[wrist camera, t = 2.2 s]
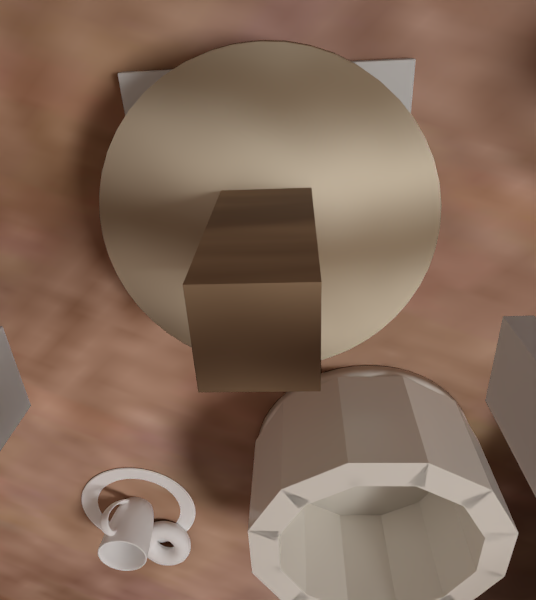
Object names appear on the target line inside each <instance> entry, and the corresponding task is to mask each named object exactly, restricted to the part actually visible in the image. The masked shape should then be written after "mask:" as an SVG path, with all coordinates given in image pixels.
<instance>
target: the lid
mask: <svg viewBox="0 0 536 600" xmlns="http://www.w3.org/2000/svg"><path fill="white" fill-rule="evenodd" d="M99 212H100V221H101V228H102V234H103V238H104V242H105V245H106V249H107V252H108V255H109V258H110V260H111V262H112V265H113V267H114V269H115V271H116V274H117V275H118V277H119V279H120V280H121V282H122V284H123V286H124V287H125V289H126V291H127V292H128V293H129V295H130V296H131V297H132V298H133V300H134V301H135V302H136V304H137V305H138V306H139V307H140V308H141V309H142V310H143V311H144V312H145V314H146V315H147V316H148V317H149V318H150V319H151V320H152V321H153V322H155V323H156V324H157V325H158V326H160V327H161V328H162V329H163V330H165V331H166V332H167V333H168V334H170V335H172V336H173V337H175V338H176V339H178V340H179V341H181V342H182V343H184V344H186V345H188V346H190V347H192V352H193V359H194V366H195V373H196V379H197V386H198V392H307V391H321V360H323V359H326V358H330V357H332V356H335V355H337V354H340V353H342V352H345V351H347V350H349V349H351V348H353V347H355V346H357V345H358V344H360V343H362V342H364V341H366V340H367V339H368V338H370V337H371V336H373V335H374V334H376V333H377V332H378V331H380V330H381V329H382V328H383V327H385V326H386V325H387V324H388V323H389V322H390V321H391V320H392V319H394V318H395V317H396V316H397V314H398V313H399V312H400V311H401V310H402V309H403V308H404V306H405V305H406V304H407V303H408V302H409V300H410V299H411V298H412V296H413V295H414V293H415V292H416V290H417V289H418V287H419V286H420V284H421V282H422V280H423V278H424V276H425V274H426V272H427V270H428V268H429V266H430V263H431V260H432V257H433V254H434V251H435V248H436V244H437V239H438V234H439V229H440V219H441V195H440V183H439V179H438V174H437V170H436V165H435V161H434V158H433V156H432V153H431V151H430V148H429V146H428V143H427V140H426V138H425V137H424V135H423V133H422V131H421V129H420V128H419V126H418V124H417V122H416V121H415V119H414V117H413V116H412V115H411V114H410V112H409V111H408V110H407V109H406V107H405V106H404V105H403V103H402V102H401V101H400V100H399V99H398V98H397V97H396V96H395V95H394V94H393V93H392V92H391V91H390V90H389V89H388V88H387V87H386V86H385V85H384V84H383V83H382V82H381V81H379V80H378V79H377V78H375V77H374V76H372V75H371V74H370V73H368V72H367V71H365V70H364V69H363V68H361V67H360V66H358V65H357V64H355V63H353V62H351V61H349V60H347V59H345V58H343V57H341V56H339V55H337V54H335V53H333V52H330V51H327V50H324V49H321V48H318V47H315V46H312V45H307V44H301V43H296V42H290V41H274V40H258V41H250V42H242V43H235V44H231V45H228V46H224V47H221V48H217V49H213V50H211V51H209V52H206V53H204V54H202V55H200V56H197V57H195V58H193V59H191V60H188V61H186V62H184V63H182V64H181V65H179V66H178V67H176V68H175V69H173V70H171V71H170V72H168V73H167V74H165V75H164V76H162V77H161V78H160V79H159V80H158V81H157V82H155V83H154V84H153V85H152V86H151V87H150V88H149V89H147V90H146V91H145V92H144V93H143V94H142V95H141V97H140V98H139V99H138V100H137V101H136V103H135V104H134V105H133V106H132V107H131V108H130V110H129V111H128V113H127V114H126V116H125V117H124V119H123V121H122V122H121V124H120V125H119V127H118V129H117V130H116V133H115V135H114V137H113V140H112V142H111V144H110V147H109V149H108V151H107V155H106V159H105V162H104V166H103V170H102V175H101V183H100V191H99Z"/></svg>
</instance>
